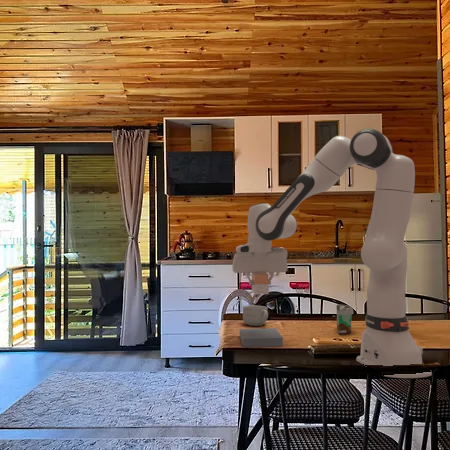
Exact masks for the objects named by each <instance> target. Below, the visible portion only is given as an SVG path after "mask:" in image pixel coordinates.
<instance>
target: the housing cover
mask: <svg viewBox="0 0 450 450" xmlns="http://www.w3.org/2000/svg"><path fill="white" fill-rule="evenodd" d="M269 277H270V276H269V274H268V273H251V280H253V283H254V284H269Z"/></svg>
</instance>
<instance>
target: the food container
mask: <svg viewBox="0 0 450 450" xmlns="http://www.w3.org/2000/svg"><path fill="white" fill-rule="evenodd" d="M353 314H354V308H353V307H352V306H351V305H347V304H336V330H337V333H338V335H339V336H341V335H343V336H344V335H349V334H352V321H353V320H352V318H353V317H352V316H353Z"/></svg>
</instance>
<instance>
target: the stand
mask: <svg viewBox="0 0 450 450" xmlns="http://www.w3.org/2000/svg"><path fill="white" fill-rule="evenodd" d="M239 339H240V343H241V345H242V348H262V347H263V348H265V347H267V348H269V347H272V348H273V347H275V348H276V347H283V346H284V341H283V336H282V335H281V334H280V332H279V331H278V330H277V328H274V327H271V328H239Z"/></svg>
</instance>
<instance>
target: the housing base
mask: <svg viewBox="0 0 450 450" xmlns="http://www.w3.org/2000/svg"><path fill="white" fill-rule="evenodd" d="M269 286H270V285H269V284H253V285H251V292H252V293H253V294H254V295H269V294H270V293H269V291H270V290H269V288H270V287H269Z"/></svg>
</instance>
